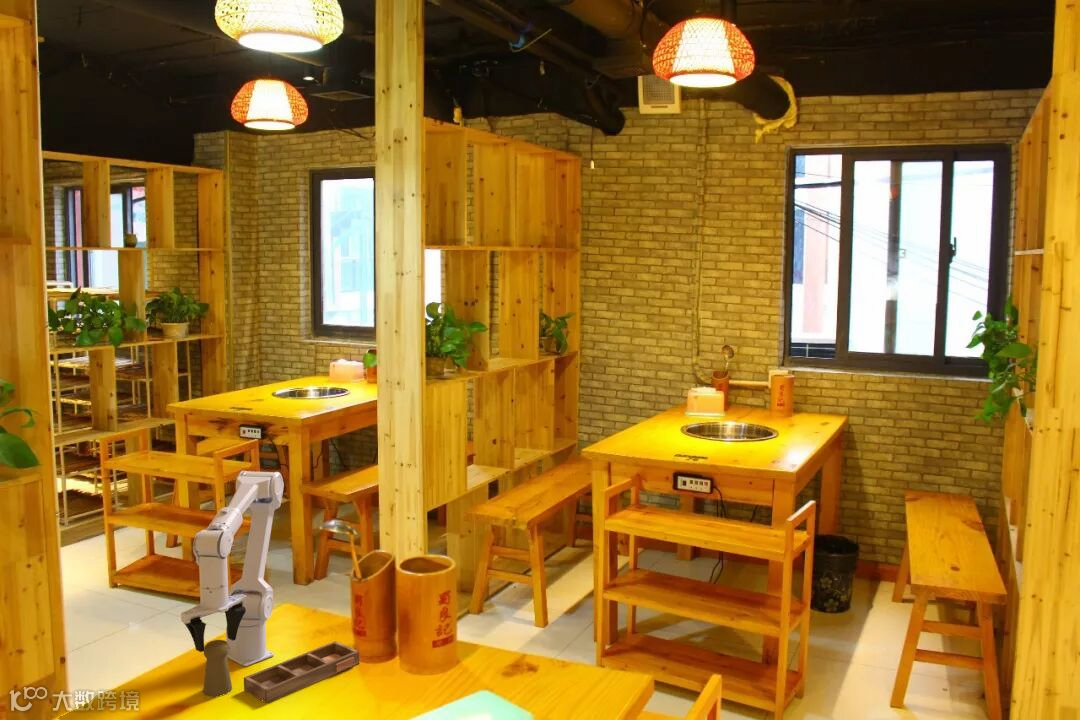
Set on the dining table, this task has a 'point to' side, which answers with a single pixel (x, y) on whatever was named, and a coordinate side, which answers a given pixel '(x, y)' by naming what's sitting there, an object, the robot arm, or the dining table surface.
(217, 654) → the pepper mill
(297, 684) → the spice rack
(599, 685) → the dining table surface
